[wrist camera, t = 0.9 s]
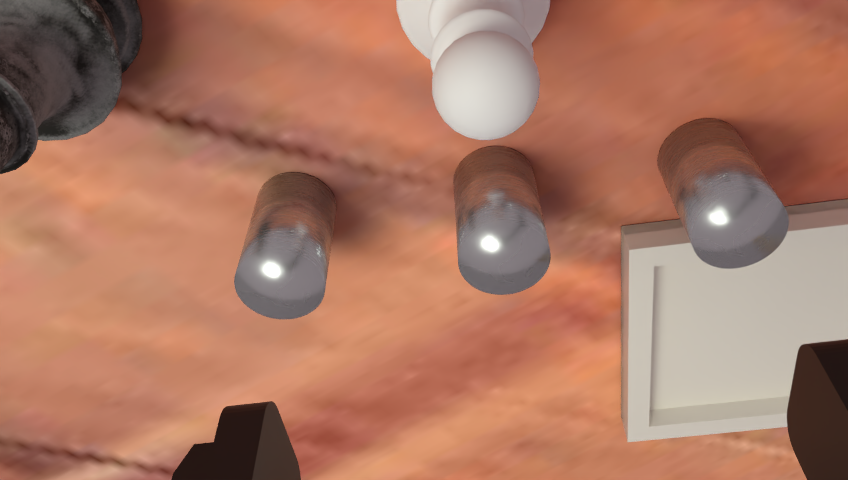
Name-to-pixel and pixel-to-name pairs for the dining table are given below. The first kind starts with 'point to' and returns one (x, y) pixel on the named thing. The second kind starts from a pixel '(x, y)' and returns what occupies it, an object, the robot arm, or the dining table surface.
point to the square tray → (725, 325)
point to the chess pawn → (479, 60)
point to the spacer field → (513, 220)
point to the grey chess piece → (60, 69)
